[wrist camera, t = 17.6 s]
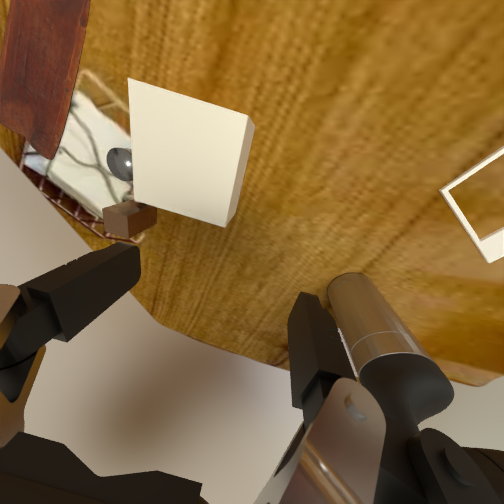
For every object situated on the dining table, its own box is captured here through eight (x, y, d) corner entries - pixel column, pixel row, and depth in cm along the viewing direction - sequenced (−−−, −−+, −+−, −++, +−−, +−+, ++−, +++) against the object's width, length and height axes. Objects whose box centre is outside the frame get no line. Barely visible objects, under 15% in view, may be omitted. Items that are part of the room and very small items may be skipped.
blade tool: (156, 223, 37) (128, 238, 30) (137, 217, 37) (105, 231, 30) (158, 123, 29) (120, 111, 22) (134, 115, 29) (87, 101, 22)
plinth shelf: (235, 213, 34) (224, 227, 27) (163, 191, 34) (134, 200, 27) (255, 126, 27) (248, 115, 20) (166, 98, 27) (127, 77, 20)
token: (141, 150, 31) (131, 149, 29) (147, 180, 33) (138, 182, 31) (114, 147, 31) (102, 146, 29) (121, 177, 34) (111, 179, 32)
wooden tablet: (58, 164, 34) (48, 164, 33) (2, 121, 32) (-11, 119, 30) (106, -2, 23) (95, -12, 22) (27, -86, 21) (8, -104, 20)
